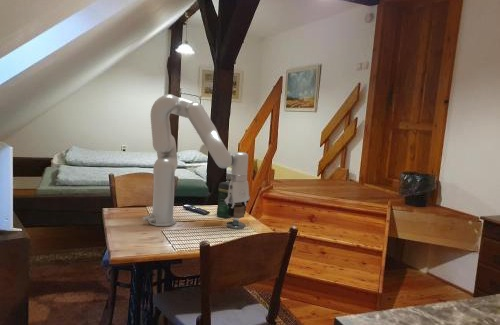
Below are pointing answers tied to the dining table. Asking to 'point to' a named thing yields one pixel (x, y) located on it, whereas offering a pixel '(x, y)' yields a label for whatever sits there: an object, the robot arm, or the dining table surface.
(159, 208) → the robot arm
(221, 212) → the coffee jar
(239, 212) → the collar
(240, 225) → the post
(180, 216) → the dining table surface
